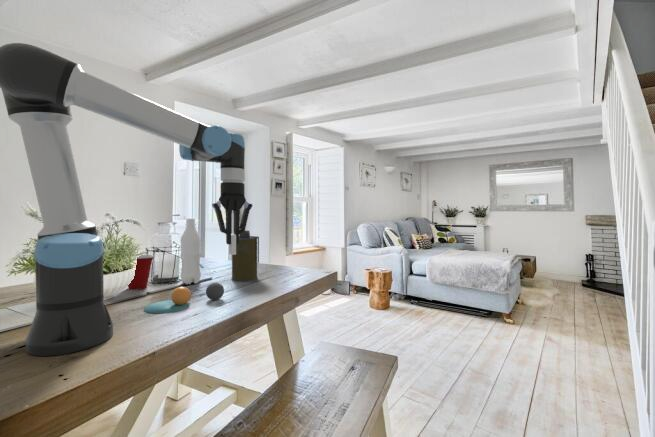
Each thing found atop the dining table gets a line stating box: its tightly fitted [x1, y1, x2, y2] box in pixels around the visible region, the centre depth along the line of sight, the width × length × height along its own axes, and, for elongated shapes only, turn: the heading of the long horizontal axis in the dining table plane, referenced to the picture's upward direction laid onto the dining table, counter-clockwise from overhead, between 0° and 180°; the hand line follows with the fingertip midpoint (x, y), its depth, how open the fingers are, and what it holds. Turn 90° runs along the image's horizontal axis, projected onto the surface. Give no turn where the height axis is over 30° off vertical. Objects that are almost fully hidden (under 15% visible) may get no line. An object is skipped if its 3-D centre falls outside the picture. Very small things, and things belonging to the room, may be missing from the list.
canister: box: [231, 229, 260, 283], centre depth 132 cm, size 11×10×20 cm
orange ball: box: [170, 286, 192, 305], centre depth 97 cm, size 6×6×6 cm
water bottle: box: [180, 218, 202, 285], centre depth 124 cm, size 7×7×25 cm
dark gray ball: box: [205, 282, 225, 301], centre depth 103 cm, size 6×6×6 cm
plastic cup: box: [127, 254, 155, 291], centre depth 117 cm, size 11×11×12 cm
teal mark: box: [143, 299, 190, 314], centre depth 95 cm, size 12×12×1 cm
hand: (232, 254), depth 105 cm, fingers closed
